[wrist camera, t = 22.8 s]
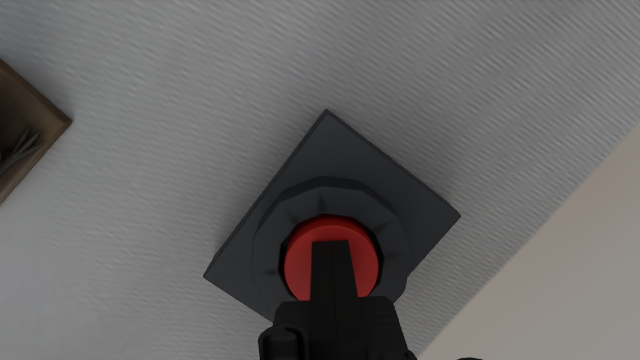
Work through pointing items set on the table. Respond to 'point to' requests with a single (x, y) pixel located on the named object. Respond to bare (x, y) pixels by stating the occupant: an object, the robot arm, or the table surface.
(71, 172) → the table surface
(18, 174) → the figurine
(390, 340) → the robot arm
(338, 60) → the table surface
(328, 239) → the button
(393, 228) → the button box
